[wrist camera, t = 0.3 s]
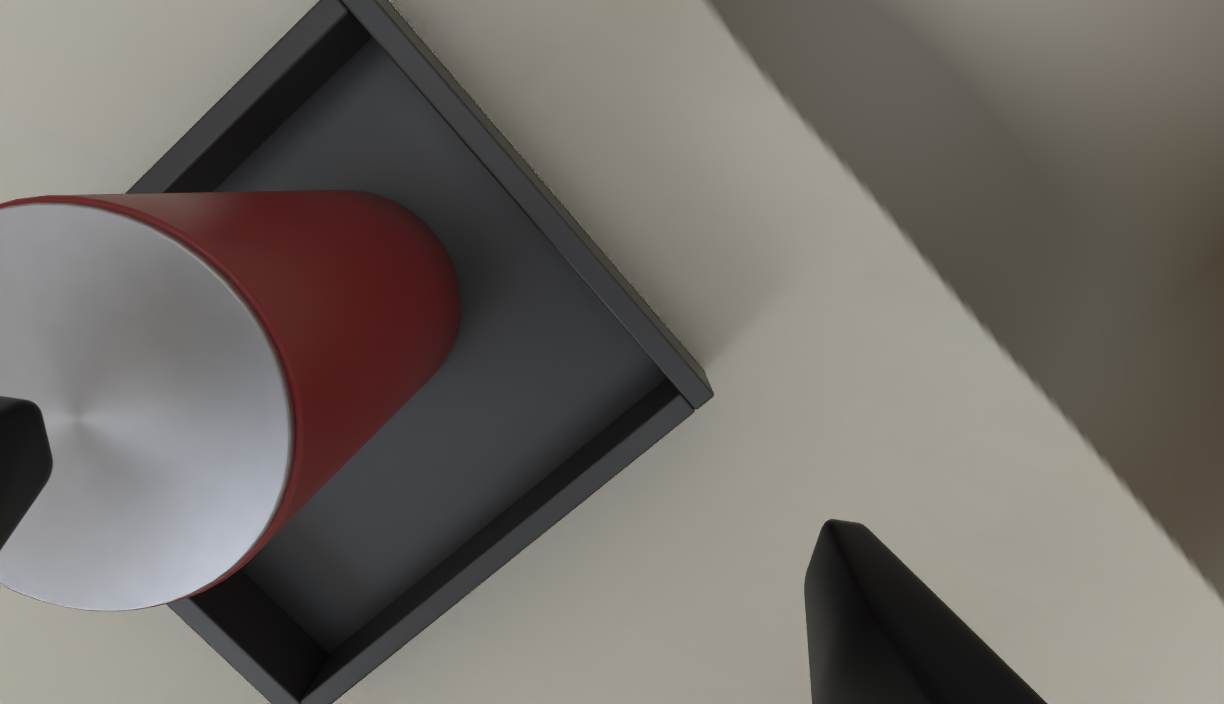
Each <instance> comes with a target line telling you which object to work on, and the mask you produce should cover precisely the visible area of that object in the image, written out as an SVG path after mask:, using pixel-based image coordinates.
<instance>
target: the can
mask: <svg viewBox="0 0 1224 704" xmlns="http://www.w3.org/2000/svg"><path fill="white" fill-rule="evenodd" d="M460 313H461V298H460V290H459V284H458V279H457V276H456V273H455V269H454V266H453V264H452V262H451V260H450V257H449V255H448V253H447V252H446V250H445V248H444V247H443V245H442V243H441V242H440V240H439V239H438V238H437V236H436V235H435V234H434V233H433V231H432V230H431V229H430V228H429V227H428V226H427V225H426V224H425V223H424V222H423V221H422V220H421V219H420V218H419V217H417V216H416V215H415V214H413V213H412V212H411V211H409V210H408V209H406V208H405V207H403V206H401V205H399V204H398V203H396V202H394V201H392V200H389V199H387V198H385V197H382V196H379V195H375V194H372V193H368V192H362V191H355V190H308V191H255V192H203V193H150V194H98V195H46V196H38V197H30V198H22V199H16V200H12V201H9V202H5V203H1V204H0V396H5V397H12V398H19V399H25V400H30V401H32V402H34V403H36V404H37V405H38V407H39V408H40V409H41V412H42V415H43V419H44V423H45V428H46V432H47V436H48V440H49V444H50V448H51V453H52V457H53V469H52V473H51V476H50V478H49V480H48V482H47V484H46V485H45V487H44V488H43V490H42V491H41V493H40V494H39V495H38V497H37V498H36V500H35V501H34V503H33V504H32V506H31V507H30V508H29V510H28V511H27V513H26V514H25V516H24V517H23V519H22V520H21V522H20V523H19V524H18V526H17V527H16V529H15V530H14V532H13V533H12V535H11V536H10V538H9V539H8V540H7V542H6V543H5V545H4V546H3V548H2V549H1V551H0V584H1V585H3V586H5V587H7V588H9V589H11V590H13V591H16V592H18V593H21V594H23V595H26V596H29V597H31V598H34V599H37V600H39V601H43V602H47V603H51V604H55V605H59V606H63V607H68V608H75V609H83V610H90V611H125V610H135V609H144V608H148V607H154V606H159V605H163V604H167V603H171V602H176V601H180V600H183V599H185V598H188V597H190V596H193V595H196V594H198V593H201V592H204V591H205V590H207V589H209V588H211V587H213V586H215V585H216V584H218V583H220V582H222V581H224V580H225V579H227V578H228V577H229V576H231V575H232V574H234V573H235V572H236V571H238V570H239V569H240V568H242V567H243V566H244V565H245V564H246V563H247V562H248V561H249V560H250V559H251V558H252V557H253V556H254V555H255V554H256V553H257V552H258V551H259V550H260V549H261V548H262V547H263V546H264V545H265V544H266V543H267V542H268V541H269V540H270V539H271V538H272V537H273V536H274V535H275V534H276V533H277V532H278V531H279V530H280V529H281V528H282V527H283V526H284V525H285V524H286V523H287V522H288V521H289V520H290V519H291V518H292V517H293V516H294V515H295V514H296V513H297V512H298V511H299V510H300V509H301V508H302V507H303V506H304V505H305V504H306V503H307V502H308V501H309V500H310V499H311V498H312V497H313V496H314V495H315V494H316V493H317V492H318V491H319V490H320V489H321V488H322V487H323V486H324V485H325V484H326V483H327V482H328V481H329V480H330V479H331V478H332V477H333V476H334V475H335V474H336V473H337V472H338V471H339V470H340V469H341V468H342V467H343V466H344V465H345V464H346V463H347V462H348V461H349V460H350V459H351V458H352V457H353V456H354V455H355V454H356V453H357V452H358V451H359V450H360V449H361V448H362V447H363V446H364V445H365V444H366V443H367V442H368V441H369V440H370V439H371V438H372V437H373V436H374V435H375V434H376V433H377V432H378V431H379V430H380V429H381V428H382V427H383V426H384V425H385V424H386V423H387V422H388V421H389V420H390V419H391V418H392V417H393V416H394V415H395V414H396V413H397V412H398V411H399V410H400V409H401V408H402V407H403V406H404V405H405V404H406V403H407V402H408V401H409V400H410V399H411V398H412V397H413V396H414V395H415V394H416V393H417V392H418V391H419V390H420V389H421V388H422V387H423V386H424V385H425V384H426V383H427V382H428V381H429V380H430V379H431V378H432V377H433V376H434V374H435V373H436V372H437V371H438V370H439V368H440V367H441V366H442V365H443V363H444V362H445V360H446V358H447V357H448V355H449V353H450V351H451V349H452V347H453V344H454V342H455V339H456V336H457V332H458V328H459V323H460Z"/></svg>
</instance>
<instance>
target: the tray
mask: <svg viewBox="0 0 1224 704" xmlns="http://www.w3.org/2000/svg"><path fill="white" fill-rule="evenodd" d="M308 190H355V191H362V192H368V193H372V194H375V195H379V196H382V197H385V198H387V199H389V200H392V201H394V202H396V203H398V204H399V205H401V206H403V207H405V208H406V209H408V210H409V211H411V212H412V213H413V214H415V215H416V216H417V217H419V218H420V219H421V220H422V221H423V222H424V223H425V224H426V225H427V226H428V227H429V228H430V229H431V230H432V231H433V233H434V234H435V235H436V236H437V238H438V239H439V240H440V242H441V243H442V245H443V247H444V248H445V250H446V252H447V253H448V255H449V257H450V260H451V262H452V264H453V266H454V269H455V273H456V276H457V279H458V284H459V290H460V298H461V313H460V323H459V328H458V332H457V336H456V339H455V342H454V344H453V347H452V349H451V351H450V353H449V355H448V357H447V358H446V360H445V362H444V363H443V365H442V366H441V367H440V368H439V370H438V371H437V372H436V373H435V374H434V376H433V377H432V378H431V379H430V380H429V381H428V382H427V383H426V384H425V385H424V386H423V387H422V388H421V389H420V390H419V391H418V392H417V393H416V394H415V395H414V396H413V397H412V398H411V399H410V400H409V401H408V402H407V403H406V404H405V405H404V406H403V407H402V408H401V409H400V410H399V411H398V412H397V413H396V414H395V415H394V416H393V417H392V418H391V419H390V420H389V421H388V422H387V423H386V424H385V425H384V426H383V427H382V428H381V429H380V430H379V431H378V432H377V433H376V434H375V435H374V436H373V437H372V438H371V439H370V440H369V441H368V442H367V443H366V444H365V445H364V446H363V447H362V448H361V449H360V450H359V451H358V452H357V453H356V454H355V455H354V456H353V457H352V458H351V459H350V460H349V461H348V462H347V463H346V464H345V465H344V466H343V467H342V468H341V469H340V470H339V471H338V472H337V473H336V474H335V475H334V476H333V477H332V478H331V479H330V480H329V481H328V482H327V483H326V484H325V485H324V486H323V487H322V488H321V489H320V490H319V491H318V492H317V493H316V494H315V495H314V496H313V497H312V498H311V499H310V500H309V501H308V502H307V503H306V504H305V505H304V506H303V507H302V508H301V509H300V510H299V511H298V512H297V513H296V514H295V515H294V516H293V517H292V518H291V519H290V520H289V521H288V522H287V523H286V524H285V525H284V526H283V527H282V528H281V529H280V530H279V531H278V532H277V533H276V534H275V535H274V536H273V537H272V538H271V539H270V540H269V541H268V542H267V543H266V544H265V545H264V546H263V547H262V548H261V549H260V550H259V551H258V552H257V553H256V554H255V555H254V556H253V557H252V558H251V559H250V560H249V561H248V562H247V563H246V564H245V565H244V566H243V567H242V568H240V569H239V570H238V571H236V572H235V573H234V574H232V575H231V576H229V577H228V578H227V579H225V580H224V581H222V582H220V583H218V584H216V585H215V586H213V587H211V588H209V589H207V590H205V591H204V592H201V593H198V594H196V595H193V596H190V597H188V598H185V599H183V600H180V601H176V602H171V603H167V605H168V606H169V607H170V608H171V609H172V610H173V611H174V612H175V613H176V614H177V615H178V616H179V617H180V618H182V619H183V620H184V621H185V622H186V623H187V624H188V625H189V626H190V627H191V628H192V629H193V630H194V631H195V632H196V633H197V634H198V635H199V636H201V637H202V638H203V639H204V640H205V641H206V642H207V643H208V644H209V645H210V646H211V647H212V648H213V649H214V650H215V651H216V652H217V653H219V654H220V655H221V656H222V657H223V658H224V659H225V660H226V661H227V662H228V663H229V664H230V665H231V666H232V667H233V668H234V669H235V670H236V671H238V672H239V673H240V674H241V675H242V676H243V677H244V678H245V679H246V680H247V681H248V682H249V683H250V684H251V685H252V686H253V687H254V688H256V689H257V690H258V691H259V692H260V693H261V694H262V695H263V696H264V697H265V698H266V699H267V700H268V701H269V702H270V703H271V704H332V703H333V702H334V701H336V700H337V699H338V698H339V697H341V696H342V695H343V694H344V693H346V692H347V691H348V690H349V689H351V688H352V687H353V686H354V685H356V684H357V683H358V682H359V681H361V680H362V679H363V678H364V677H366V676H367V675H368V674H369V673H371V672H372V671H373V670H374V669H375V668H377V667H378V666H379V665H380V664H382V663H383V662H384V661H385V660H387V659H388V658H389V657H390V656H392V655H393V654H394V653H395V652H397V651H398V650H399V649H400V648H402V647H403V646H404V645H405V644H407V643H408V642H409V641H410V640H412V639H413V638H414V637H415V636H417V635H418V634H419V633H420V632H422V631H423V630H424V629H425V628H426V627H428V626H429V625H430V624H431V623H433V622H434V621H435V620H436V619H438V618H439V617H440V616H441V615H443V614H444V613H445V612H446V611H448V610H449V609H450V608H451V607H453V606H454V605H455V604H456V603H458V602H459V601H460V600H461V599H463V598H464V597H465V596H466V595H468V594H469V593H470V592H471V591H473V590H474V589H475V588H476V587H477V586H479V585H480V584H481V583H482V582H484V581H485V580H486V579H487V578H489V577H490V576H491V575H492V574H494V573H495V572H496V571H497V570H499V569H500V568H501V567H502V566H504V565H505V564H506V563H507V562H509V561H510V560H511V559H512V558H514V557H515V556H516V555H517V554H519V553H520V552H521V551H522V550H523V549H525V548H526V547H527V546H528V545H530V544H531V543H532V542H533V541H535V540H536V539H537V538H538V537H540V536H541V535H542V534H543V533H545V532H546V531H547V530H548V529H550V528H551V527H552V526H553V525H555V524H556V523H557V522H558V521H560V520H561V519H562V518H563V517H565V516H566V515H567V514H568V513H570V512H571V511H572V510H573V509H574V508H576V507H577V506H578V505H579V504H581V503H582V502H583V501H584V500H586V499H587V498H588V497H589V496H591V495H592V494H593V493H594V492H596V491H597V490H598V489H599V488H601V487H602V486H603V485H604V484H606V483H607V482H608V481H609V480H611V479H612V478H613V477H614V476H616V475H617V474H618V473H619V472H621V471H622V470H623V469H624V468H625V467H627V466H628V465H629V464H630V463H632V462H633V461H634V460H635V459H637V458H638V457H639V456H640V455H642V454H643V453H644V452H645V451H647V450H648V449H649V448H650V447H652V446H653V445H654V444H655V443H657V442H658V441H659V440H660V439H662V438H663V437H664V436H665V435H667V434H668V433H669V432H670V431H672V430H673V429H674V428H675V427H676V426H678V425H679V424H680V423H681V422H683V421H684V420H685V419H686V418H688V417H689V416H690V415H691V414H693V413H694V411H695V410H694V409H699V408H700V407H701V406H702V405H704V404H705V403H706V402H707V401H709V400H710V399H711V398H712V397H713V396H714V393H713V391H712V388H711V386H710V384H709V381H708V379H707V377H706V374H705V371H704V370H703V369H702V367H701V366H700V365H699V364H698V363H697V362H696V360H695V359H694V358H693V357H692V356H691V355H690V353H689V352H688V351H687V350H686V349H685V347H684V346H683V345H682V344H681V343H680V342H679V340H678V339H677V338H676V337H675V336H674V335H673V333H672V332H671V331H670V330H669V329H668V328H667V326H666V325H665V324H664V323H663V322H662V321H661V319H660V318H659V317H658V316H657V315H656V314H655V312H654V311H653V310H652V309H651V308H650V307H649V305H648V304H647V303H646V302H645V301H644V300H643V298H642V297H641V296H640V295H639V294H638V292H637V291H636V290H635V289H634V288H633V287H632V285H631V284H630V283H629V282H628V281H627V280H626V278H625V277H624V276H623V275H622V274H621V273H620V271H619V270H618V269H617V268H616V267H615V266H614V264H613V263H612V262H611V261H610V260H609V259H608V257H607V256H606V255H605V254H604V253H603V252H602V250H601V249H600V248H599V247H598V246H597V245H596V243H595V242H594V241H593V240H592V239H591V237H590V236H589V235H588V234H587V233H586V232H585V230H584V229H583V228H582V227H581V226H580V225H579V223H578V222H577V221H576V220H575V219H574V218H573V216H572V215H571V214H570V213H569V212H568V211H567V209H566V208H565V207H564V206H563V205H562V204H561V202H560V201H559V200H558V199H557V198H556V197H555V195H554V194H553V193H552V192H551V191H550V190H549V188H548V187H547V186H546V185H545V184H544V182H543V181H542V180H541V179H540V178H539V177H538V175H537V174H536V173H535V172H534V171H533V170H532V168H531V167H530V166H529V165H528V164H527V163H526V161H525V160H524V159H523V158H522V157H521V156H520V154H519V153H518V152H517V151H516V150H515V149H514V147H513V146H512V145H511V144H510V143H509V142H508V140H507V139H506V138H505V137H504V136H503V135H502V133H501V132H500V131H499V130H498V129H497V127H496V126H495V125H494V124H493V123H492V122H491V120H490V119H489V118H488V117H487V116H486V115H485V113H484V112H483V111H482V110H481V109H480V108H479V106H478V105H477V104H476V103H475V102H474V101H473V99H472V98H471V97H470V96H469V95H468V94H467V92H466V91H465V90H464V89H463V88H462V87H461V85H460V84H459V83H458V82H457V81H456V80H455V78H454V77H453V76H452V75H451V74H450V72H449V71H448V70H447V69H446V68H445V67H444V65H443V64H442V63H441V62H440V61H439V60H438V58H437V57H436V56H435V55H434V54H433V53H432V51H431V50H430V49H429V48H428V47H427V46H426V44H425V43H424V42H423V41H422V40H421V39H420V37H419V36H418V35H417V34H416V33H415V32H414V30H413V29H412V28H411V27H410V26H409V24H408V23H407V22H406V21H405V20H404V19H403V17H402V16H401V15H400V14H399V13H398V12H397V10H396V9H395V8H394V7H393V6H392V5H391V3H390V2H389V1H388V0H320V1H319V2H318V3H317V4H316V5H315V6H314V7H312V8H311V9H310V10H309V11H308V12H307V13H306V14H305V15H304V16H303V17H302V18H301V19H300V20H299V21H298V22H297V23H296V24H295V25H294V26H293V27H292V28H291V29H290V30H289V31H288V32H287V33H286V34H285V35H284V36H283V37H282V38H281V39H280V40H279V41H278V42H277V43H276V44H275V45H274V46H273V47H272V48H271V49H270V50H269V51H268V52H267V53H266V54H265V55H264V56H263V57H262V58H261V59H260V60H259V61H258V62H257V63H256V64H255V65H254V66H253V67H252V68H251V69H250V70H249V71H248V72H247V73H246V74H245V75H244V76H243V77H242V78H241V79H240V80H239V81H238V82H237V83H236V84H235V85H234V86H233V87H232V88H231V89H230V90H229V91H228V92H227V93H226V94H225V95H224V96H223V97H222V98H221V99H220V100H219V101H218V102H217V103H216V104H215V105H214V106H213V107H212V108H211V109H210V110H209V111H208V112H207V113H206V114H205V115H204V116H203V117H202V118H201V119H200V120H199V121H198V122H197V123H196V124H195V125H194V126H193V127H192V128H191V129H190V130H189V131H188V132H187V133H186V134H185V135H184V136H183V137H182V138H181V139H180V140H179V141H178V142H177V143H176V144H175V145H174V146H173V147H172V148H171V149H170V150H169V151H168V152H167V153H166V154H165V155H164V156H163V157H162V158H161V159H160V160H159V161H158V162H157V163H156V164H155V165H154V166H153V167H151V168H150V169H149V170H148V171H147V172H146V173H145V174H144V175H143V176H142V177H141V178H140V179H139V180H138V181H137V182H136V183H135V184H134V185H133V186H132V187H131V188H130V189H129V190H128V191H127V192H126V193H125V194H150V193H203V192H255V191H308Z"/></svg>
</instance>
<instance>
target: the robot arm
mask: <svg viewBox="0 0 1224 704" xmlns="http://www.w3.org/2000/svg"><path fill="white" fill-rule="evenodd" d="M52 469H53V457H52V453H51V448H50V444H49V440H48V436H47V432H46V428H45V423H44V419H43V415H42V412H41V409H40V408H39V407H38V405H37V404H36V403H34V402H32V401H30V400H25V399H19V398H12V397H5V396H0V551H1V549H2V548H3V546H4V545H5V543H6V542H7V540H8V539H9V538H10V536H11V535H12V533H13V532H14V530H15V529H16V527H17V526H18V524H19V523H20V522H21V520H22V519H23V517H24V516H25V514H26V513H27V511H28V510H29V508H30V507H31V506H32V504H33V503H34V501H35V500H36V498H37V497H38V495H39V494H40V493H41V491H42V490H43V488H44V487H45V485H46V484H47V482H48V480H49V478H50V476H51V473H52ZM804 595H805V609H806V623H807V637H808V651H809V665H810V679H811V693H812V704H1047V703H1046V702H1045V701H1044V700H1043V699H1042V698H1041V697H1040V696H1039V695H1038V694H1037V693H1036V692H1035V691H1034V690H1033V689H1032V688H1031V687H1030V686H1029V685H1028V684H1027V683H1026V682H1025V681H1024V680H1023V679H1022V678H1021V677H1020V676H1019V675H1018V674H1017V673H1016V672H1014V671H1013V670H1012V669H1011V668H1010V667H1009V666H1008V665H1007V664H1006V663H1005V662H1004V661H1003V660H1002V659H1001V658H1000V657H999V656H998V655H997V654H996V653H995V652H994V651H993V650H992V649H991V648H990V647H989V646H988V645H987V644H986V643H985V642H984V641H983V640H982V639H981V638H980V637H979V636H978V635H977V634H976V633H975V632H973V631H972V630H971V629H970V628H969V627H968V626H967V625H966V624H965V623H964V622H963V621H962V620H961V619H960V618H959V617H958V616H957V615H956V614H955V613H954V612H953V611H952V610H951V609H950V608H949V607H948V606H947V605H946V604H945V603H944V602H943V601H942V600H941V599H940V598H939V597H938V596H937V595H936V594H935V593H934V592H933V591H931V590H930V589H929V588H928V587H927V586H926V585H925V584H924V583H923V582H922V581H921V580H920V579H919V578H918V577H917V576H916V575H915V574H914V573H913V572H912V571H911V570H910V569H909V568H908V567H907V566H906V565H905V564H904V563H903V562H902V561H901V560H900V559H899V558H898V557H897V556H896V555H895V554H894V553H893V552H892V551H891V550H889V549H888V548H887V547H886V546H885V545H884V544H883V543H882V542H881V541H880V540H879V539H878V538H877V537H876V536H875V535H874V534H873V533H872V532H871V531H870V530H869V529H868V528H867V527H866V526H864V525H863V524H860V523H856V522H849V521H842V520H836V519H830V520H828V521H826V522H825V524H824V525H823V527H822V529H821V531H820V534H819V537H818V540H817V543H816V546H815V548H814V551H813V554H812V557H811V560H810V563H809V566H808V569H807V572H806V577H805V585H804Z"/></svg>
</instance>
